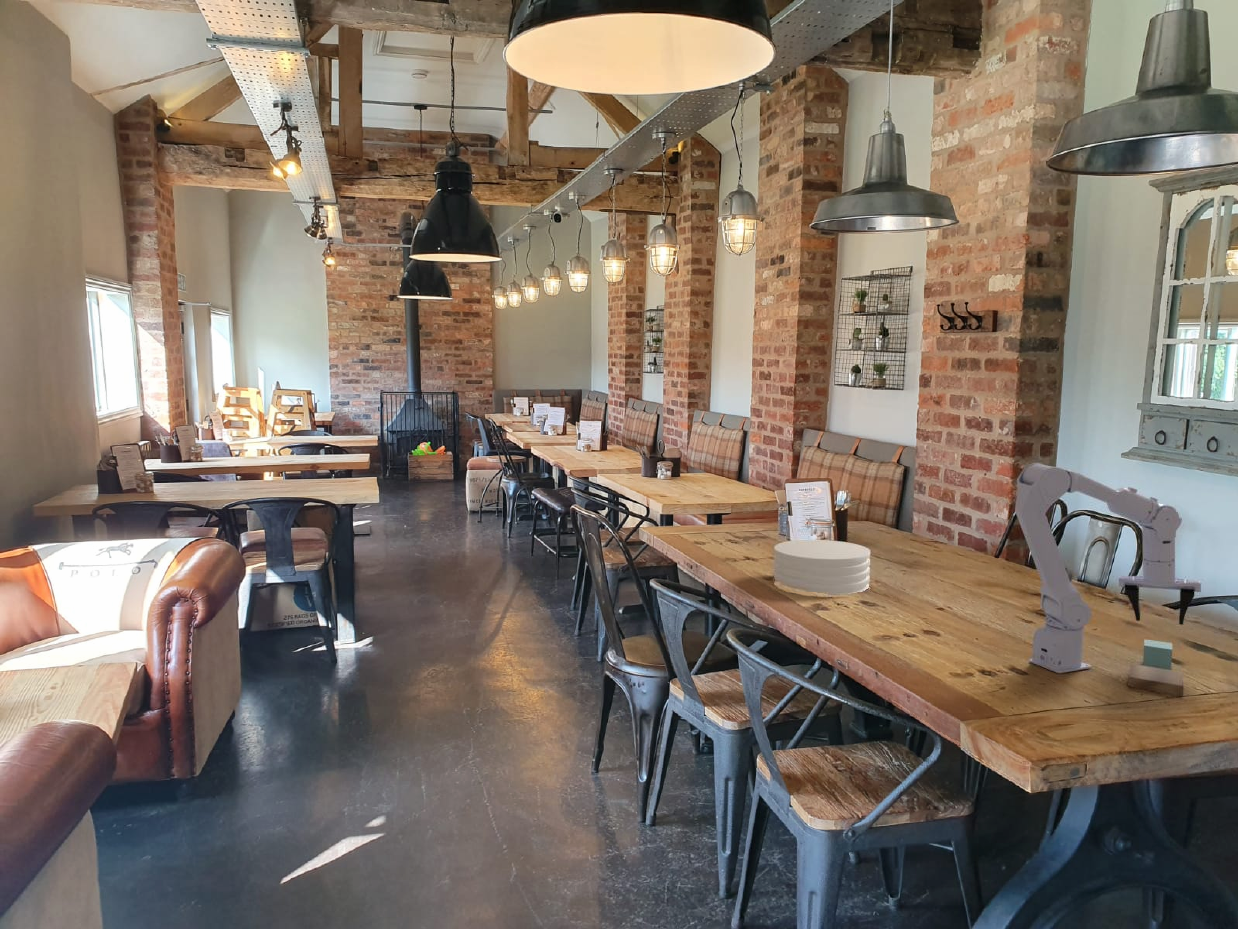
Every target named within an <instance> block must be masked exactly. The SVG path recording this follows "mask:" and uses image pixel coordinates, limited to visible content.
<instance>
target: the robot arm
mask: <svg viewBox="0 0 1238 929" xmlns="http://www.w3.org/2000/svg"><path fill="white" fill-rule="evenodd" d="M1016 482H1017V483H1016V484H1017V488H1018V489H1017V494H1016V498H1015V499H1016V500H1015V507H1014V512H1015V515H1016V517H1017V519H1018V522H1019V525H1020V528H1021V530H1022V533H1023V535H1024V538H1025V542H1026V544H1027V547H1028V549H1029V552H1030V554H1031V558H1032V559H1033V563H1034V565H1035V568H1036V570H1037V573H1038V576H1039V578H1040V581H1041V584H1042V585H1041V587H1040V588H1039V592H1040V596H1041V600H1040V606H1041V610H1042V611H1043V613H1044V614H1045V623H1044V624H1043V626H1041V627H1039V628H1037V629H1036V630H1035V632H1034V633H1033V638H1032V641H1033V642H1032V657H1031V658H1030V659H1028V662H1029V663H1032V664H1034V665H1036V666H1039V667H1042V668H1044V669H1047V670H1049V671H1052V672H1055V673H1057V674H1063V673H1068V672H1069V673H1070V672H1074V671H1080V670H1085V669H1086V670H1087V669H1091V668H1092V665H1090V664H1088V663H1085V662H1083V649H1084V648H1083V644H1084V630H1085V626H1086V625H1087V624H1088V623H1089V622H1090V620H1091V616H1092V611H1091V607H1090V606H1089V605H1088V603H1087V602H1085V601H1084V600H1083V598H1082V597H1081V594H1080V592H1079V591H1078V589H1077V588H1076V587H1075V586H1074V585H1073V583H1072V582H1070V580H1069V577H1068V574H1067V572H1066V569H1065V568H1066V566H1065V563H1064V562H1063V558H1062V555H1061V552H1060V551H1059V547H1058V545H1057V543H1056V540H1055V537H1054V534H1053V531H1052V529H1051V527H1050V524H1049V521H1048V518H1047V515H1046V513H1047V512H1048V510H1049V509H1050V507H1051V506H1052V505H1053V504H1054V503H1056V502H1057V501H1058V500H1060V498H1062V497H1063V496H1064V495H1065V494H1066V493H1069V494H1072V493H1073V494H1074V493H1075V492H1078V493H1081V494H1082V495H1083V494H1084V495H1086V496H1088V497H1091V498H1093V499H1096V500H1098V501H1101V502H1104V503H1106V505H1107V509H1109V511H1110V512H1111V513H1113V514H1116V515H1118V516H1120V517H1123V518H1124V519H1127V520H1129V521H1132V522H1134V523H1137V524H1138V526H1140V527H1141V528H1142V575H1133V576H1132V575H1129V576H1128V575H1127V576H1125V575H1119V577H1118V587H1119V588H1124V593H1125V595H1126V596H1127V598H1128V600H1129V602H1130V604H1131V607H1132V610H1133V612H1134V616H1135V621H1137V622H1140V620H1141V608H1140V588H1144V589H1145V588H1149V589H1161V590H1177V591H1179V606H1180V607H1179V617H1178V618H1179V619H1178V621H1179V622H1178V625H1182V626H1183V625H1184V620H1185V616H1186V613H1187V610H1188V609H1189V606H1190V604H1191V603H1192V601H1193V600H1194V597H1195V593H1202V581H1200V580H1193V579H1185V578H1178V577H1176V538H1177V534H1176V533H1177V531H1178V529H1179V528H1180V526H1181V524H1182V519H1183V518H1182V517H1180V514H1179V512H1178V511H1177V510H1176V508H1175V507H1173V506H1170V505H1169V504H1163V503H1159V502H1158V499H1157V498H1156V497H1153V496H1151V497H1147V496H1145V495H1143V494H1141V493H1138V489H1137V488H1134V487H1131V486H1128V487H1119V488H1115V489H1113V488H1111V487H1109V486H1107V485H1105V484H1103V483H1100V482H1098V481H1097V480H1095V479H1092V478H1090V477H1088V476H1086V475H1083V474H1081V473H1080V472H1075V471H1072V470H1068V469H1065V468H1062V467H1059V466H1050V465H1046V464H1043V463H1040V462H1032V463H1029V464H1027V465H1026V466H1024V468H1023V470H1022V471H1021V473H1020V474H1019V475H1018V477H1017V478H1016Z"/></svg>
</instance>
